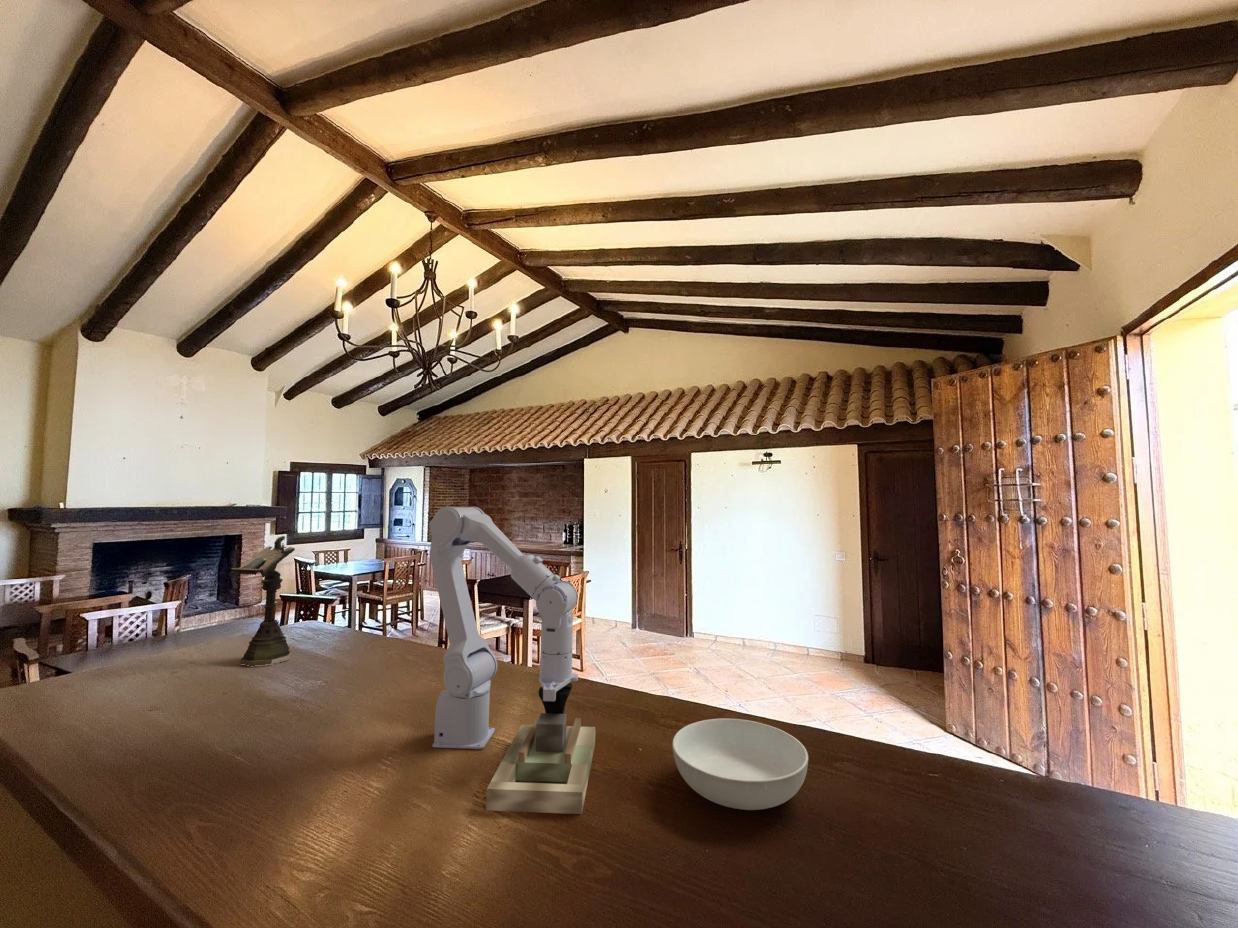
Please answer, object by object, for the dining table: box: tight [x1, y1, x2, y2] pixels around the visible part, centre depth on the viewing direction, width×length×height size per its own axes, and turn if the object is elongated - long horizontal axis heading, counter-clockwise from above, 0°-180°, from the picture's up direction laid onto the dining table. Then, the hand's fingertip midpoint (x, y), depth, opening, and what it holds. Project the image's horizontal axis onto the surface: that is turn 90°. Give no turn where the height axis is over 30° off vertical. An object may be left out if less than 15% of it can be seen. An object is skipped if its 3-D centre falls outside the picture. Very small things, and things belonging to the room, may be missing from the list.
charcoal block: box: [536, 712, 567, 752], centre depth 88 cm, size 4×4×4 cm
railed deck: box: [485, 716, 596, 815], centre depth 85 cm, size 14×22×4 cm, turn 178°
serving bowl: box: [671, 717, 809, 811], centre depth 81 cm, size 21×21×7 cm
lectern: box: [229, 535, 296, 666], centre depth 142 cm, size 17×13×35 cm
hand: (554, 727), depth 92 cm, fingers closed
